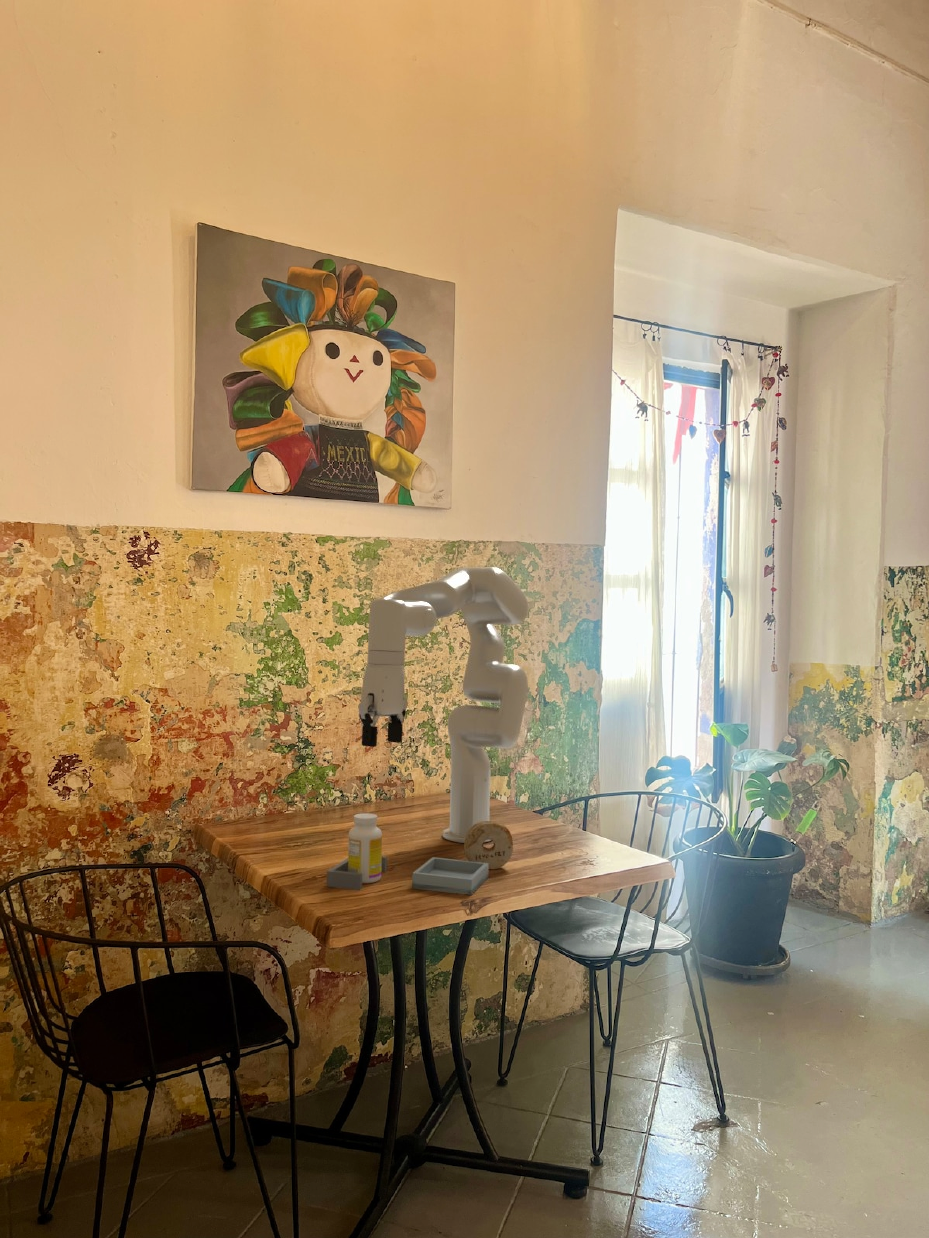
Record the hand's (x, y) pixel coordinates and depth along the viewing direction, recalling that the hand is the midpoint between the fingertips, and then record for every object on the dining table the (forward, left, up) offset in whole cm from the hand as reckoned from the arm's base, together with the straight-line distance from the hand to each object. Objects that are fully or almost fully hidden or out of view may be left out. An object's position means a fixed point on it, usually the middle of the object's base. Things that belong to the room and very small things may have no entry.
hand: (382, 744), depth 186 cm
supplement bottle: (+3, -2, -27) cm, 27 cm away
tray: (-1, +15, -27) cm, 31 cm away
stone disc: (-14, +19, -27) cm, 36 cm away
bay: (+3, -4, -27) cm, 27 cm away
